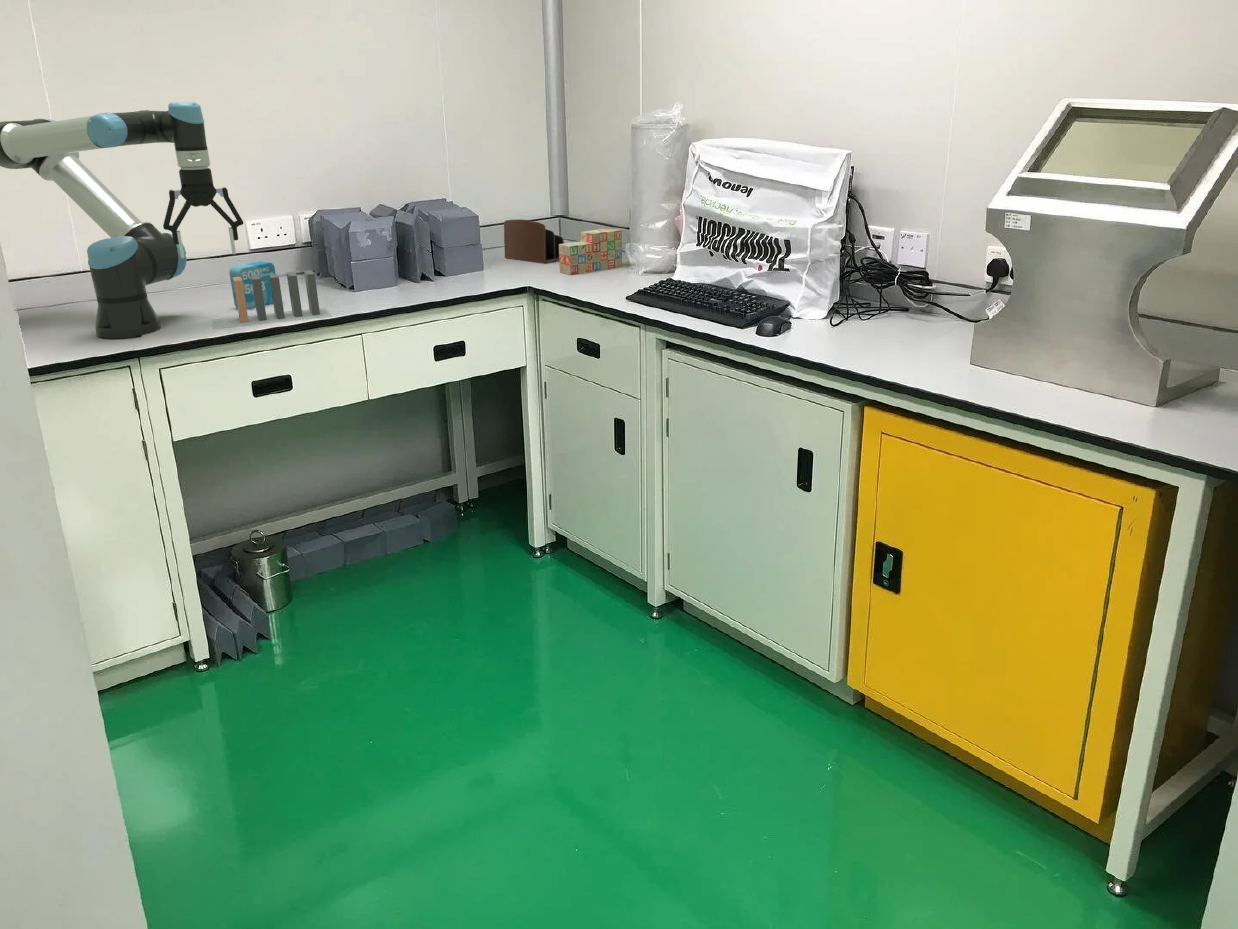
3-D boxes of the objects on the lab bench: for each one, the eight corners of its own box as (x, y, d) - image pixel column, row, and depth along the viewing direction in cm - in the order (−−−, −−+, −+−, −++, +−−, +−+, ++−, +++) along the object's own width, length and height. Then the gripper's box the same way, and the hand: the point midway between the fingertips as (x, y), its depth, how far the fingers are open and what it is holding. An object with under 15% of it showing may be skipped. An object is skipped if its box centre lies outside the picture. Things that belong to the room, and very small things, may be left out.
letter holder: (545, 264, 334) (543, 222, 329) (504, 258, 346) (501, 217, 341) (565, 260, 341) (563, 218, 336) (524, 254, 353) (522, 214, 348)
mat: (213, 330, 254) (213, 329, 254) (211, 320, 264) (211, 319, 264) (332, 317, 265) (332, 316, 265) (325, 309, 275) (325, 307, 275)
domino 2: (259, 320, 261) (252, 279, 257) (257, 316, 267) (250, 275, 262) (266, 319, 262) (260, 278, 258) (264, 315, 267) (258, 274, 263)
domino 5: (312, 315, 266) (307, 274, 262) (309, 310, 272) (304, 270, 268) (320, 314, 267) (314, 273, 263) (317, 310, 272) (311, 270, 268)
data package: (245, 311, 274) (238, 268, 270) (235, 309, 277) (227, 267, 272) (280, 303, 284) (274, 261, 279) (270, 301, 286) (263, 260, 281)
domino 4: (294, 317, 265) (289, 276, 261) (292, 312, 270) (286, 272, 266) (302, 316, 266) (296, 275, 261) (299, 311, 271) (294, 271, 267)
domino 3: (277, 318, 263) (270, 277, 259) (274, 314, 268) (268, 274, 264) (284, 318, 264) (278, 277, 260) (282, 313, 269) (276, 273, 265)
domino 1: (240, 322, 260) (234, 281, 256) (239, 318, 265) (232, 277, 261) (248, 321, 260) (242, 280, 256) (247, 317, 266) (240, 276, 262)
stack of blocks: (570, 275, 315) (569, 236, 310) (559, 273, 319) (557, 234, 315) (622, 266, 327) (622, 229, 322) (611, 264, 332) (610, 227, 327)
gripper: (142, 171, 238) (158, 261, 246) (246, 166, 247) (258, 253, 256) (142, 168, 245) (157, 256, 253) (243, 164, 254) (256, 249, 262)
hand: (208, 255), depth 254 cm, fingers open, 12 cm apart
